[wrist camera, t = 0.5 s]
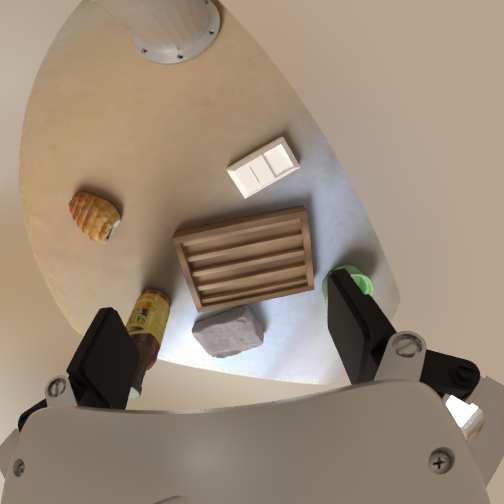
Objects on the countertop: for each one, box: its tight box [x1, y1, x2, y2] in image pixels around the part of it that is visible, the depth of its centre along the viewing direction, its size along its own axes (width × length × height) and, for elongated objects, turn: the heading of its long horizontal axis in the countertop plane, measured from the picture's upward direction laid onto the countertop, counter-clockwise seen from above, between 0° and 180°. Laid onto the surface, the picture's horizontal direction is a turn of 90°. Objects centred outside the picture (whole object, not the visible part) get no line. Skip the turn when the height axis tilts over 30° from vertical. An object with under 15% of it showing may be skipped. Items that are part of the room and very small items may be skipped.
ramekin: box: [322, 265, 373, 308], centre depth 46 cm, size 9×9×4 cm
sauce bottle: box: [125, 289, 171, 399], centre depth 37 cm, size 6×6×20 cm
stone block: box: [192, 305, 264, 358], centre depth 49 cm, size 12×5×10 cm
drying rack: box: [172, 206, 314, 312], centre depth 43 cm, size 14×20×2 cm
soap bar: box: [227, 137, 300, 199], centre depth 37 cm, size 5×9×3 cm, turn 121°
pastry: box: [69, 192, 120, 244], centre depth 37 cm, size 9×7×4 cm
